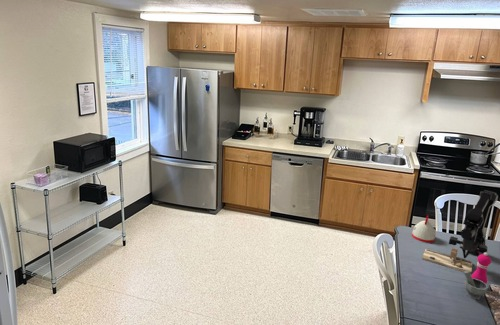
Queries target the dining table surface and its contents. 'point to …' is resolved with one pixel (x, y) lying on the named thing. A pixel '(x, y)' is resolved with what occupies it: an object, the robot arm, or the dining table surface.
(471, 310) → the dining table surface
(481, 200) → the robot arm
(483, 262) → the pepper mill
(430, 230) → the white dome
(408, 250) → the dining table surface
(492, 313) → the dining table surface
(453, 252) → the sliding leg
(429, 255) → the gauge board
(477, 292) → the mortar and pestle
